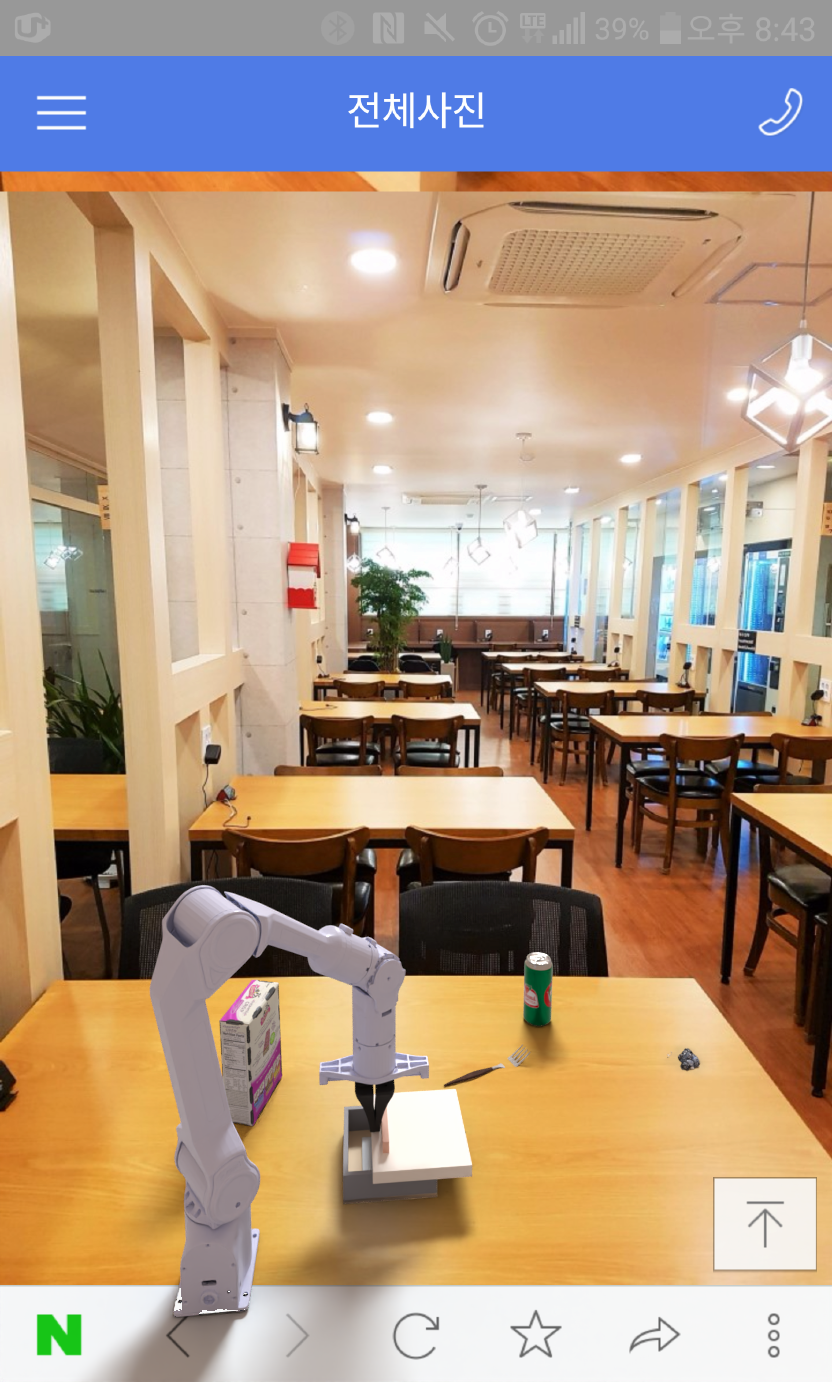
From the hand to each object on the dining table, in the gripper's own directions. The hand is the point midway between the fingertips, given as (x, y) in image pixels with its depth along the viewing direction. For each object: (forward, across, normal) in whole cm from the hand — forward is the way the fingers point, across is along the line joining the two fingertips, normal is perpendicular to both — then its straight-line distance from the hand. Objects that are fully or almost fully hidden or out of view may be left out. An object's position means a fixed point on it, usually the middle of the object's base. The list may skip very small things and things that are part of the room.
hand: (374, 1126), depth 92 cm
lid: (+2, -6, 0) cm, 6 cm away
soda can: (+6, -31, -30) cm, 43 cm away
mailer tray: (+6, -2, 0) cm, 6 cm away
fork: (+6, -19, -17) cm, 26 cm away
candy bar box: (+6, +18, -14) cm, 24 cm away
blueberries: (+6, -53, -17) cm, 56 cm away
